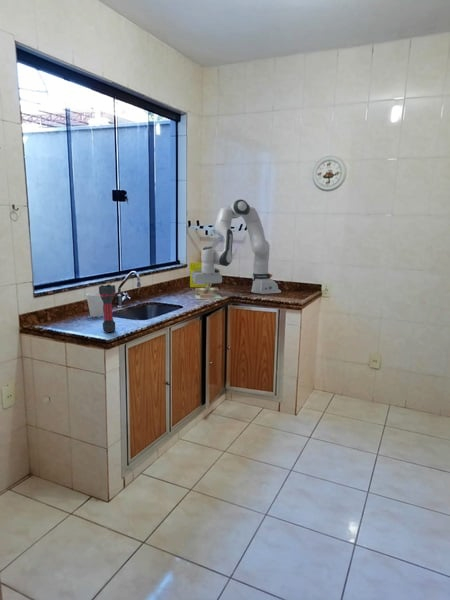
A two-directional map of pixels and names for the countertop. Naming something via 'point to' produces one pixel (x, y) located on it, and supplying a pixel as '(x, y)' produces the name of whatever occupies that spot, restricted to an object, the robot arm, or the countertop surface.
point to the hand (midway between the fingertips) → (207, 289)
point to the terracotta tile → (206, 295)
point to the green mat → (209, 298)
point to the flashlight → (107, 306)
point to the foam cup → (95, 304)
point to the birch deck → (206, 291)
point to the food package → (193, 268)
